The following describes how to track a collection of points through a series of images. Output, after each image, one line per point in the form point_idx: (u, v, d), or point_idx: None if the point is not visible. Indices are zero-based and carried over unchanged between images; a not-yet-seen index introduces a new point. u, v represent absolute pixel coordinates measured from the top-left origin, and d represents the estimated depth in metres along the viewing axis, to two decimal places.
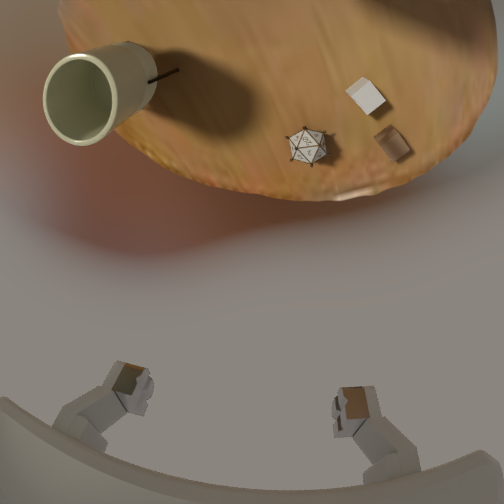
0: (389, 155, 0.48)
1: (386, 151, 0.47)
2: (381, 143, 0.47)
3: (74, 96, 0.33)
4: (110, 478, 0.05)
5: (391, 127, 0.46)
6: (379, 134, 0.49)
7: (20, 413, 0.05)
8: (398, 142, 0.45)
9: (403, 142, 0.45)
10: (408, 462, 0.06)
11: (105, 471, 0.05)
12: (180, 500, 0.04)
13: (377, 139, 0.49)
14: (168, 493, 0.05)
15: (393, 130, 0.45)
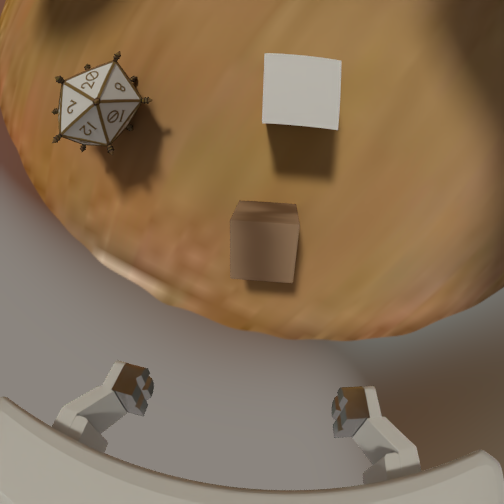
0: (234, 257, 0.21)
1: (234, 243, 0.20)
2: (238, 217, 0.20)
3: None
4: (110, 478, 0.05)
5: (292, 209, 0.22)
6: (255, 203, 0.23)
7: (19, 413, 0.05)
8: (280, 247, 0.20)
9: (291, 256, 0.20)
10: (408, 462, 0.06)
11: (104, 471, 0.05)
12: (180, 500, 0.04)
13: (240, 207, 0.22)
14: (168, 493, 0.05)
15: (292, 215, 0.21)
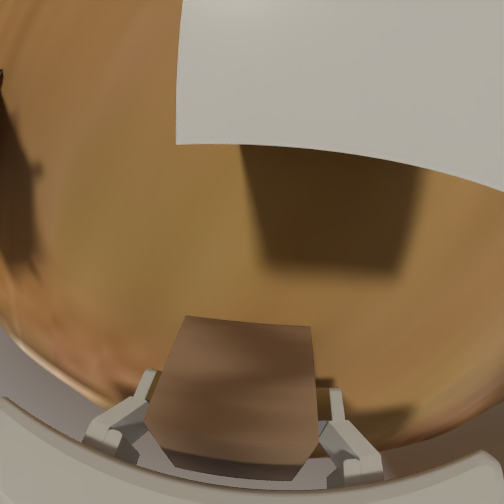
0: (174, 456, 0.08)
1: (167, 445, 0.07)
2: (165, 410, 0.07)
3: None
4: (110, 478, 0.05)
5: (303, 355, 0.09)
6: (216, 333, 0.10)
7: (19, 413, 0.05)
8: (268, 460, 0.07)
9: (292, 466, 0.07)
10: (370, 470, 0.06)
11: (104, 471, 0.05)
12: (180, 500, 0.04)
13: (180, 352, 0.09)
14: (168, 493, 0.05)
15: (301, 391, 0.08)
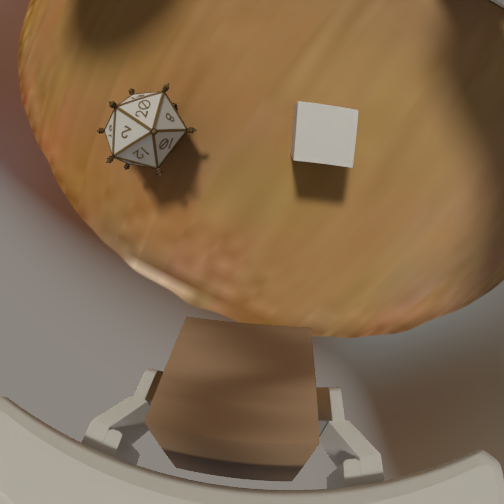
0: (175, 456, 0.08)
1: (168, 446, 0.07)
2: (166, 411, 0.07)
3: None
4: (110, 478, 0.05)
5: (304, 356, 0.09)
6: (217, 334, 0.10)
7: (20, 413, 0.05)
8: (269, 461, 0.07)
9: (292, 467, 0.07)
10: (370, 470, 0.06)
11: (104, 471, 0.05)
12: (180, 500, 0.04)
13: (181, 354, 0.09)
14: (168, 493, 0.05)
15: (301, 392, 0.08)
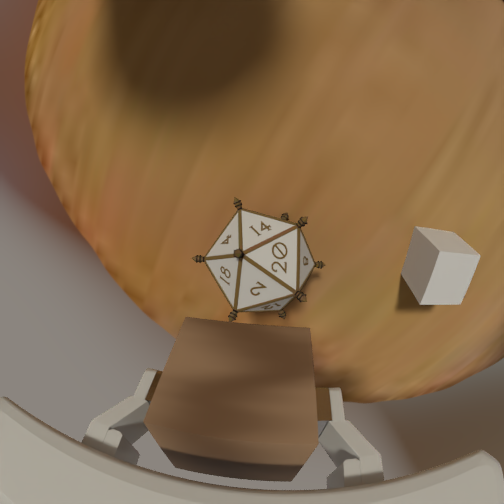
0: (174, 456, 0.08)
1: (167, 446, 0.07)
2: (165, 411, 0.07)
3: None
4: (110, 478, 0.05)
5: (303, 356, 0.09)
6: (216, 334, 0.10)
7: (19, 413, 0.05)
8: (268, 461, 0.07)
9: (292, 467, 0.07)
10: (370, 470, 0.06)
11: (104, 471, 0.05)
12: (180, 500, 0.04)
13: (180, 354, 0.09)
14: (168, 493, 0.05)
15: (300, 392, 0.08)
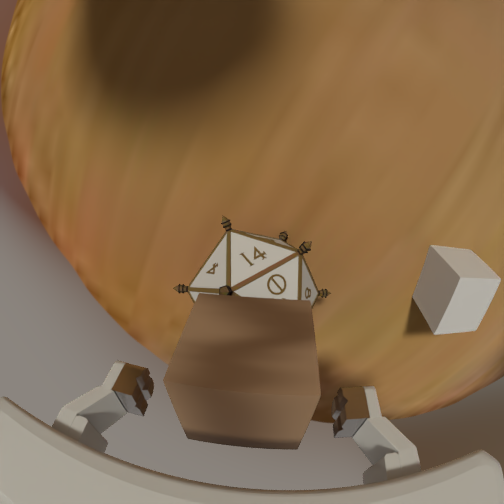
0: (188, 423, 0.09)
1: (182, 409, 0.09)
2: (183, 370, 0.08)
3: None
4: (110, 478, 0.05)
5: (305, 323, 0.10)
6: (227, 306, 0.11)
7: (20, 413, 0.05)
8: (276, 420, 0.08)
9: (298, 428, 0.09)
10: (408, 462, 0.06)
11: (105, 471, 0.05)
12: (180, 500, 0.04)
13: (195, 323, 0.10)
14: (168, 493, 0.05)
15: (303, 352, 0.09)
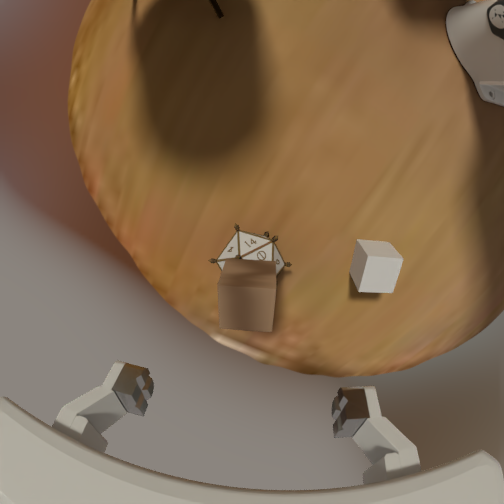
0: (222, 313, 0.24)
1: (222, 302, 0.24)
2: (224, 282, 0.24)
3: None
4: (110, 478, 0.05)
5: (272, 268, 0.26)
6: (239, 262, 0.27)
7: (19, 413, 0.05)
8: (260, 305, 0.24)
9: (270, 312, 0.24)
10: (408, 462, 0.06)
11: (104, 471, 0.05)
12: (180, 500, 0.04)
13: (226, 268, 0.26)
14: (168, 493, 0.05)
15: (270, 277, 0.25)
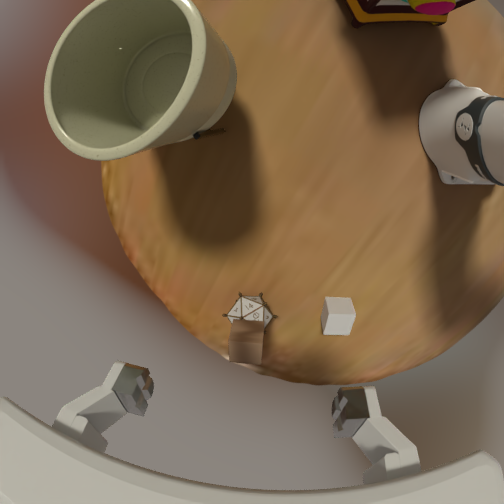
0: (231, 354, 0.40)
1: (231, 349, 0.39)
2: (232, 338, 0.39)
3: (116, 40, 0.19)
4: (110, 478, 0.05)
5: (261, 327, 0.41)
6: (241, 322, 0.42)
7: (19, 413, 0.05)
8: (253, 351, 0.39)
9: (259, 354, 0.39)
10: (408, 462, 0.06)
11: (104, 471, 0.05)
12: (180, 500, 0.04)
13: (233, 327, 0.41)
14: (168, 493, 0.05)
15: (260, 334, 0.40)
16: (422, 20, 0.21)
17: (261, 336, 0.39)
